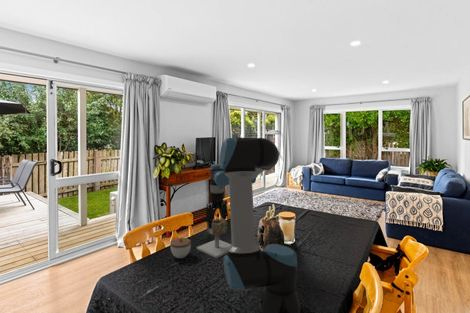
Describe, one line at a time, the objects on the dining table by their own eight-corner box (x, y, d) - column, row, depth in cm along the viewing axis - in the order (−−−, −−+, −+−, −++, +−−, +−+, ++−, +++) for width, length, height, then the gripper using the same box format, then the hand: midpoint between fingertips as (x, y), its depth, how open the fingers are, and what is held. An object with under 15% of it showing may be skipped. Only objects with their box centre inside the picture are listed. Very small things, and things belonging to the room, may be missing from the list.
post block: (216, 258, 138) (216, 243, 137) (196, 249, 148) (196, 235, 148) (236, 248, 149) (237, 234, 149) (217, 240, 160) (217, 227, 160)
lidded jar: (166, 257, 138) (165, 240, 137) (179, 249, 148) (179, 233, 147) (182, 262, 133) (182, 244, 132) (194, 253, 143) (194, 237, 142)
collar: (216, 235, 143) (216, 225, 142) (206, 232, 148) (206, 221, 147) (226, 231, 149) (227, 221, 148) (217, 228, 154) (217, 218, 153)
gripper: (207, 196, 136) (207, 238, 138) (234, 190, 151) (234, 228, 153) (198, 193, 141) (198, 234, 143) (225, 188, 156) (225, 225, 158)
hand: (216, 231), depth 148 cm, fingers closed on collar, 8 cm apart
